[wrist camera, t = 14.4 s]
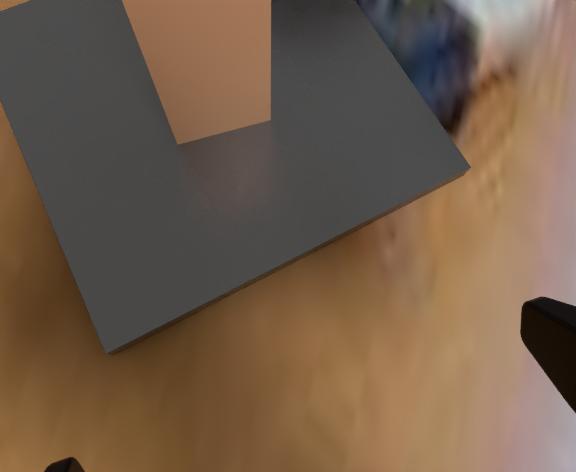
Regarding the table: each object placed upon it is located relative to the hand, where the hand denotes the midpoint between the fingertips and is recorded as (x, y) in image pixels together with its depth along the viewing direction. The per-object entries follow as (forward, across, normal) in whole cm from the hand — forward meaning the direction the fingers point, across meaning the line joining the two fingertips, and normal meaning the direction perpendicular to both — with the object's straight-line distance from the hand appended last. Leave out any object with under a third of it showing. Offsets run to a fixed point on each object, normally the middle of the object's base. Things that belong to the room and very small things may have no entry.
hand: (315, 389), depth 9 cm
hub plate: (+20, -1, -1) cm, 21 cm away
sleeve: (+20, -1, -2) cm, 20 cm away
